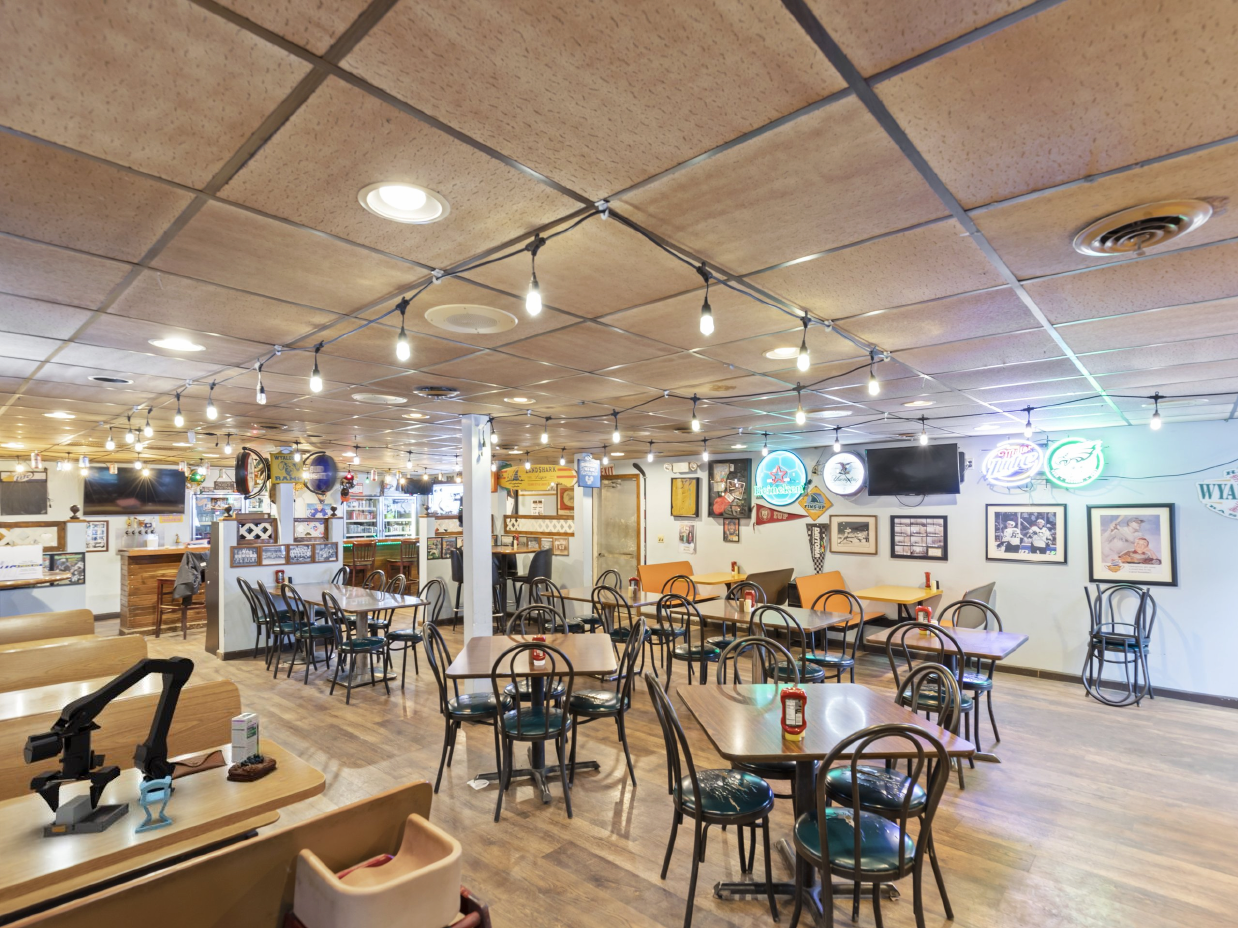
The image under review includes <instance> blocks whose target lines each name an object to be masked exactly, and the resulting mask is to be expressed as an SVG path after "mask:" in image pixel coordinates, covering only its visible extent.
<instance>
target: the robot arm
mask: <svg viewBox="0 0 1238 928" xmlns="http://www.w3.org/2000/svg"><path fill="white" fill-rule="evenodd" d="M194 669H195V662H193V660H192V659H191V658H188V657H183V656H178V655H175V656H171V657H169V658H150V657H144V658H141V659H139V661H137V663H135V664H134V665H132V666H131V667H130V668H128V669H127V670H125V671H123V672H122V673H121V674H119V675H118V676H116V677H115V678H114V679H112V680H110V681H109V682H108V683H106V684H105V685H103V686H102V687H101V688H99V689H98V690H96V691H94V692H92V693H89V694H86V695H83V696H80V697H78V698H77V699H74V700H73V701H71V702H69V703H68V704H66V705H65V706H63V708H62V710H61V713H60V716H59V717H58V718H57V720H56V721H55V722H54V724H53V725H52V726H51V727H50V729H49V731H47V732H42V733H39V734H32V735H28V736H27V741H26V742H25V745H24V748H23V749H22V750H23V751H22V752H23V759H24V762H25V764H27V765H31V764H34V763H38V762H41V761H44V760H45V761H46V760H48V759H52V758H55V757H58V755H59V754H61V753H62V757H60V758H59V759H58V764H62V768H61V769H62V770H60V769H56V770H54V769H53V770H45V771H43V772H42V773H40V774H38V775H36V776H34V777H33V778H32V779H31V780H30V782H29V790H30V791H34V793H35V794H39V796H40V797H42V799H44V801H45V802H46V803H47V805H48V807H49V808H50V810H51V811H52V813H55V814H56V809H57V808H59V807H60V788H61V785H62V784H63V783H65V782H66V783H67V782H69V783H70V782H79V781H80V782H81V781H90V783H91V785H90V786H89V794H90V800H91V807H92V809H95V808H96V807H97V805H99V802H100V799H101V798H102V794H103V793H104V790H105V789H106V787H107V786H108V784H109V783H111V782H112V781H114V780H115V779H117V778H118V777H119V776H121V768H120V766H119V765H106V766H104V763H105V759H106V754H101V753H100V754H96V753H95V749H92V732H93V731H97V730H100V729H101V728H102V726H101V725H99V724H98V723H96V722H95V721H94V719H95V718H96V717H97V716H99V715H100V714H101V713H102V711H103V710H104V709H105V707H106V706H107V705H109V703H110V702H112V701H114V700H115V699H116V698H117V697H119V696H121V695H122V694H123V693H125V692H126V691H127V690H129V689H130V688H131V687H133V686H134V685H136V684H137V683H139V682H141V680H143V679H144V678H146V677H147V676H149V675H150V674H161V681H162V690H161V693H160V696H159V700H158V703H157V707H156V710H155V713H154V717H153V719H152V722H151V725H150V729H149V733H148V736H147V737H146V739H145V741H143V742H142V744H140V743H138V744H137V745H136V746H135V751H134V755H133V756H132V757H131V759H132V760H133V766H134V767H135V768H136V769H137V770H139V771H140V772H141V774H142V775H144V776H142V781H141V782H143V781H146V783H148V782H150V781H153V780H158V779H165V778H166V776H171V782H170V784H169V786H168V789H170V794H171V793H173V792H174V791H175V789H176V788H175V787H172V785H173V780H172V774H173V773H174V770H175V768H176V766H175V765H173V764H172V763H170V762H171V761H168V754H169V749H168V742H167V739H168V735H169V732H170V728H171V725H172V723H173V718H174V715H175V711H176V707H177V705H178V701H179V698H180V694H181V691H182V689H183V688H184V686H185V685H186V684H187V682H188V681H189V680H190V678H191V676H192V674H193V671H194ZM97 767H98V768H99V769H98V770H96V769H97ZM94 770H96V771H94ZM162 790H165V788H164V787H160V788H154V789H151V790H148V791H147V793H153V792H158V791H162ZM141 795H142V793H141V792H140V796H141ZM140 799H141V797H140V798H139V799H138V801H139V802H140Z"/></svg>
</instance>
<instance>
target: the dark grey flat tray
mask: <svg viewBox="0 0 1238 928" xmlns="http://www.w3.org/2000/svg"><path fill="white" fill-rule="evenodd" d="M129 808H130V803H129V802H123V803H111V804H97V807H96V808H95V809H94V810H93V811H91V812H90V813H88V814H87V815H85V816H84V817H82V818H81V819H80V820H78V821H77V822H75V823H74V824H62V825H56V819H54V820H53V821H52V822H50V823H48V824H47V825H45V826H44V827H43V838H49V837H58V836H59V837H60V836H70V835H81V834H93V833H95V834H96V833H103V832H104V831H106V829H108V828H110V826H112V825H113V824H115V823H116V822H117V821H118V820H120V819H121V818H122V817H123V816H125V815H127V814H128V813H129V810H130V809H129Z"/></svg>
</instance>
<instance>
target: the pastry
mask: <svg viewBox="0 0 1238 928" xmlns="http://www.w3.org/2000/svg"><path fill="white" fill-rule="evenodd" d="M276 769H277V759H276V758H275V759H274V758H273V757H270V756H268V755H262V754H261V755H260V754H255V755H254V756H248V757H247V759H246V760H244V761H242V762H239V763H235V764H233V765H232V766H230V767H229V768H228V769H227V773H228V775H227V777H226V780H227V781H228V782H236V783H253V782H255V781H257V780H260V779H261V778H263V777H265V776H266V775H268V774H270V773H272V772H273V771H274V770H276Z"/></svg>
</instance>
